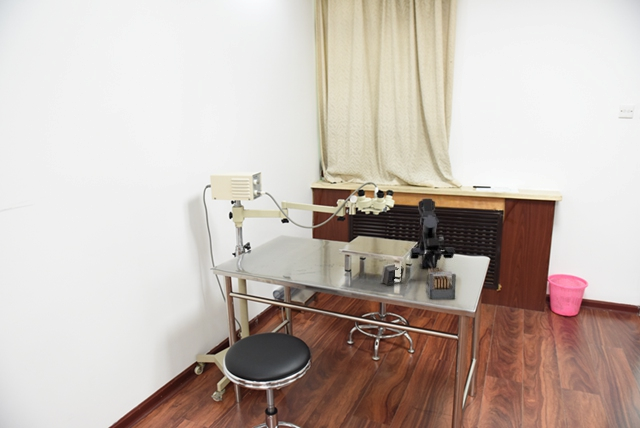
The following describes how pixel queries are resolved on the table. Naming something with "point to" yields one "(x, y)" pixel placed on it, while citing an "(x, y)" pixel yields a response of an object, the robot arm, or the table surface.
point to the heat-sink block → (439, 280)
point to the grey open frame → (441, 292)
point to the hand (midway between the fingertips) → (434, 270)
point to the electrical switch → (390, 273)
